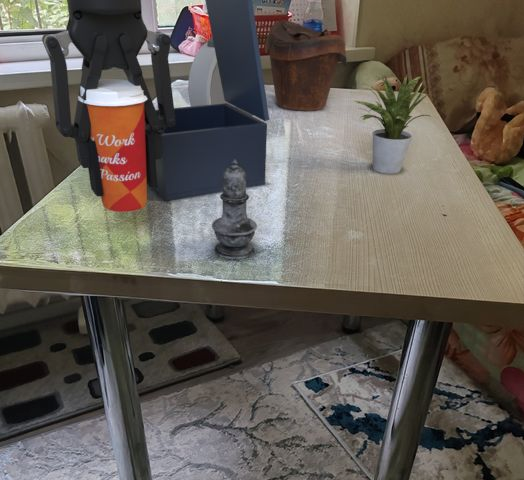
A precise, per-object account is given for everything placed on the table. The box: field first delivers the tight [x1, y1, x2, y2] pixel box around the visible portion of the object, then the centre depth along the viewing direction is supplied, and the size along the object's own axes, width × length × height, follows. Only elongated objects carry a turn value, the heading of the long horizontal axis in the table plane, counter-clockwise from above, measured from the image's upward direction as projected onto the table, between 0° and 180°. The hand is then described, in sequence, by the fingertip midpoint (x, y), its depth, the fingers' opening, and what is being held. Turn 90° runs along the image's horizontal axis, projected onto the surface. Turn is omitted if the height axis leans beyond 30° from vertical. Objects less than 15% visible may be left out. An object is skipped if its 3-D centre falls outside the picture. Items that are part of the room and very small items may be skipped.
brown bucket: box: [264, 19, 348, 112], centre depth 134 cm, size 18×20×18 cm
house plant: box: [354, 73, 433, 175], centre depth 98 cm, size 14×14×16 cm
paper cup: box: [77, 78, 148, 213], centre depth 66 cm, size 8×8×14 cm
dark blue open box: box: [145, 103, 268, 202], centre depth 92 cm, size 18×15×10 cm
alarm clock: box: [187, 36, 253, 116], centre depth 111 cm, size 16×10×18 cm, turn 146°
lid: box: [204, 0, 270, 122], centre depth 86 cm, size 19×15×6 cm
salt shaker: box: [211, 159, 258, 260], centre depth 69 cm, size 6×6×12 cm
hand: (124, 188), depth 69 cm, fingers closed on paper cup, 6 cm apart
